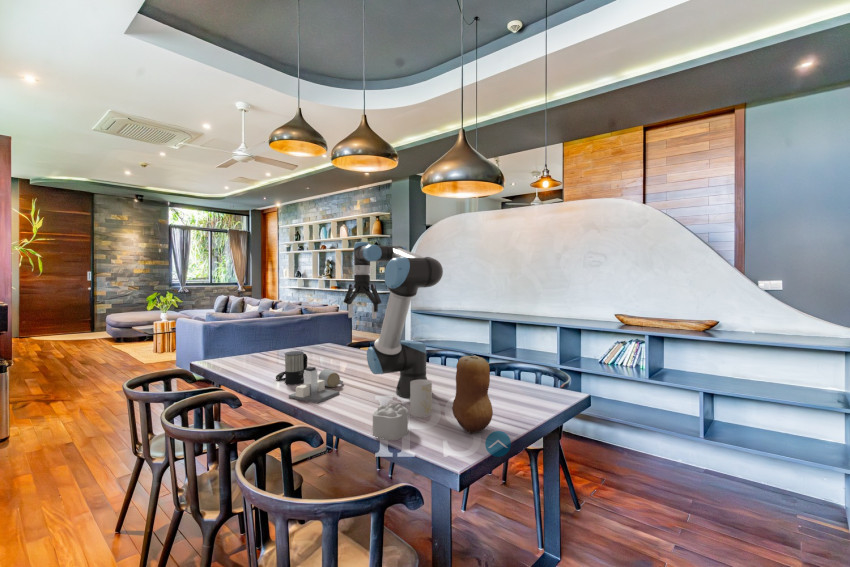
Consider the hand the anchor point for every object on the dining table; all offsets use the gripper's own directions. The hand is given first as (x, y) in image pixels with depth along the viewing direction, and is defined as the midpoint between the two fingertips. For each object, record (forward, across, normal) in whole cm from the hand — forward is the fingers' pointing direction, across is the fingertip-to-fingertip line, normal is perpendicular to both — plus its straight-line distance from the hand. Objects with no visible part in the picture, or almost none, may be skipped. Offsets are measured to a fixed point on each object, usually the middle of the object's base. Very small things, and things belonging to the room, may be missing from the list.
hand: (362, 318), depth 201 cm
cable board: (+32, -7, -27) cm, 42 cm away
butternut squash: (+32, +68, -36) cm, 83 cm away
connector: (+30, -9, -27) cm, 42 cm away
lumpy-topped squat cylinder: (+32, +44, -49) cm, 73 cm away
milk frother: (+32, -35, -12) cm, 49 cm away
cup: (+32, +45, -28) cm, 62 cm away
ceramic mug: (+32, -11, -10) cm, 35 cm away
